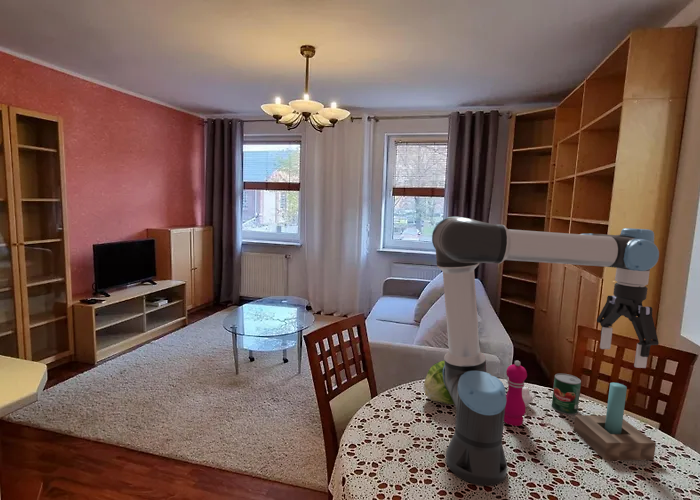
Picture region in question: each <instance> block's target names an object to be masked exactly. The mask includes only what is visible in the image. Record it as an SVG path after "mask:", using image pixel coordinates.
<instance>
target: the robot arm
mask: <svg viewBox="0 0 700 500" xmlns="http://www.w3.org/2000/svg"><path fill="white" fill-rule="evenodd" d="M431 234H432V235H431V241H432V246H433V248H434V249H435V259H436V260H435V261H436V267H437V268H438V269H439V270H441V272H442V277H443V278H442V280H443V291H444V303H445V317H446V330H447V331H446V333H447V340H448V341H447V345H448V351H447V352H446V353H445V354H444V357H443V361H444V362H445V365H444V368H443V380H444V384H445V386H446V388H447V390H448V391H449V393H450V395H451V398H452V400H453V402H454V404H455V405H454V407H455V411H456V413H455V425H454V426H455V427H454V432H453V435H452V437H451V440H450V442H449V444H448V447H447V448H446V454H445V462H446V466H447V467H448V469H449V471H451V472H452V474H454V475H455V476H457V477H458V478H460V479H461V480H464V481H466V482H467V483H470V484H475V485H478V486H495V485H499V484H500V483H503V481H505V479H506V477H507V473H508V463H507V459H506V455H505V451H504V446H503V443H502V442H503V434H504V433H503V432H504V423H505V422H504V415H505V406H506V394H507V391H506V390H507V389H506V387H505V384H504V383H503V382H502V381H501V380H500V379H499V378H498V377H497V376H495V375H492V374H491V373H488V372H487V358H486V355H485V354H484V353H482V351H481V349H480V339H479V338H480V337H479V323H478V321H479V320H478V309H477V307H478V306H477V295H476V293H477V292H476V279H475V278H476V277H475V269H476V268H477V267H478V266H479V265H480V264H483V263H484V264H501V263H503V262H504V261H515V262H517V261H518V262H529V263H530V262H534V263H545V264H562V265H574V266H575V265H576V266H577V265H578V266H588V267H589V266H592V267H593V266H594V267H605V268H606V267H607V268H616V269H615V276H614V281H615V283H614V286H613V287H614V288H613V295H607V296H606V301H605V303H604V306H602V307H603V308H602V309H601V311H600V313H599V315H598V317H597V318H596V322H597V323H599V324H600V327H601V329H600V343H599V349H601V350H611V346H612V337H613V325H614V324H615V322H617V321H618V319H620V318H621V317H622V316H623V317H624V318H627V319H628V320H629V322H631V324H632V326H633V328H634V330H635V331H634V332H635V334H636V336H637V338H638V340H639V342H637V343H636V350H635V356H634V364H633V366H634V368H639V369H641V368H642V369H646V368H647V364H648V358H649V357H650V351H651V346H658V345H659V344H660V343H659V339H658V334H657V329H656V327H655V322H654V318H653V307H652V306H644V305H643V302H644V301H645V300H647V295H648V287H647V285H649V280H650V279H649V278H650V272H651V271H650V270H651V269H652V268H654V267H655V266H656V265H657V263H658V262H659V258H660V251H659V249H658V246H657V245H656V244H655V233H654V231H653V230H651V229H648V228H647V229H646V228H630V227H629V228H628V227H627V228H625V227H624V228H622V229H621V231H620V234H606V233H605V234H603V233H593V232H592V233H580V234H578V233H569V232H568V233H566V232H565V233H564V232H554V231H553V232H551V231H536V230H525V229H523V230H522V229H510V228H509V229H508V228H507V226H506V225H504V224H499V223H498V224H497V223H489V222H485V221H481V220H476V219H473V218H470V217H469V218H468V217H463V216H449V217H446V218H443V219H442V220H440V221H439V222H438V223H437V224H436V225H435V227H434V228H433V231H432V233H431Z"/></svg>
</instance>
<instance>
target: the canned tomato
mask: <svg viewBox="0 0 700 500" xmlns="http://www.w3.org/2000/svg"><path fill="white" fill-rule="evenodd" d="M553 381H554V382H553V389H552V399H551V408H552V409H553V410H554V411H555V412H558V413H560V414H563V415H568V416H573V415H574V416H575V415H578V412H579V411H578V410H579V402H580V393H581V387H582V380H581V379H580V378H578V377H577V376H575V375H572V374H567V373H556V374H555V375H554V380H553Z"/></svg>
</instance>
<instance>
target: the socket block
mask: <svg viewBox="0 0 700 500" xmlns="http://www.w3.org/2000/svg"><path fill="white" fill-rule="evenodd" d="M605 421H606V415H594V414H593V415H592V414H591V415H589V414H587V415H585V414H583V415H582V414H575V415H574V421H573V422H574V423H573V432H574V433H576V434H577V435H578V436H579V437H580V438H581V439H582V440H583V441H584V443H586V444H587V445H588V446H589V447H590V448H591V449H593V451H594V452H596V454H598V455H599V456H600V457H601V458H602V459H603V460H605V461H606V460H607V461H654V460H655V453H656V447H657V443H656V442H655V441H654V440H652V439H651V438H650V437H648V436H647V435H645V434H644V433H643V432H641V431H640V430H639V429H638V428H636V427H635V426H633V425H632V424H631V423H629V421H627V420H625V419H624V418H623V422H622V430H621V434H610V433H608V432H607V431H606V430H605Z"/></svg>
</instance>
